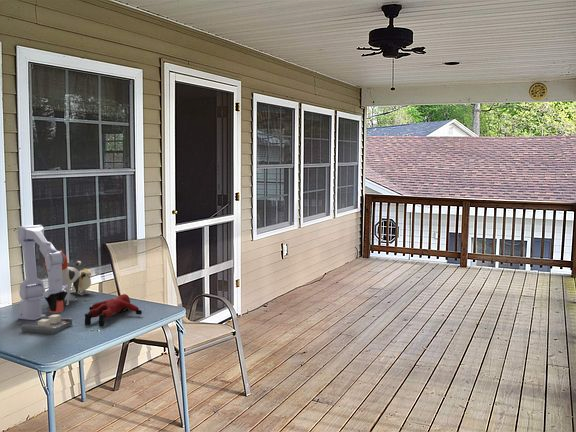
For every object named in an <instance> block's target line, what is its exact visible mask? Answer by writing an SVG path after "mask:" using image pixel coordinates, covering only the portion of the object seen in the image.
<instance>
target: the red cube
mask: <svg viewBox="0 0 576 432" xmlns="http://www.w3.org/2000/svg"><path fill="white" fill-rule="evenodd" d="M63 311H64V303H63V300H57V302H56V311H50V310H49V313H57V314H58V313H61V312H63Z"/></svg>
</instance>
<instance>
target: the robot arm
mask: <svg viewBox="0 0 576 432" xmlns="http://www.w3.org/2000/svg"><path fill="white" fill-rule="evenodd" d="M44 229H45V228H44V226H43V225H42V224H35V225H20V226H19V227H18V229H17V240H18V243H19V244H20V245H21V246H22V254H23V255H22V256H23V263H24V264H23V265H24V273H25V279H24V280H23V281H22V282H20V284H19V292H18V293H19V297H20V298H21V299H20V301H19V302H18V317H17V319H18V320H29V321H37V320H38V319H39V320H40V319H42V317H43V316H45V317H47V316H46V314H45V313H44V314H42V313H43V312H42V310H43V308H42V299H43V298H44V299H45V300H46V303H47V305H48V307H49V312H50V311H56V302H57V300H63V304H64V303H65V299H66V298H67V292H66V290H68V286H63V283H62V264H63V263H64V255H65V254H64V255H63V253H64V252H63V253H62V252H61V251H60V250H57V248H55V245H53V243H52V242H51V241H48V240H47V239H46V237H45V230H44ZM36 244H37V245H38V246H39V252H40V253H41V254H42V256H43V258H44V257H45V263H46V268H47V270H48V273H47V282H48V287H47V290H46V288H45V284H44V281H43V280H42V279H40V278H38V272H37V261H36V252H35V245H36ZM47 270H46V271H47Z"/></svg>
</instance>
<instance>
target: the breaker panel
mask: <svg viewBox="0 0 576 432" xmlns="http://www.w3.org/2000/svg"><path fill="white" fill-rule="evenodd" d="M41 319H49V316H43V317H41ZM39 320H40V319H39ZM39 320H38V319H37V320H35V321H34V322H32V323H31V322H30V323H29V324H21V333H29V334H41V335H50V336H51V335H54V334H56V333H59V332H61V331H63V330H66V329H67V328H69V327H71V326H73V318H71V317H61V322H58V323H56V324H54V323H50V326H49V327H44V326H38V321H39Z"/></svg>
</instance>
